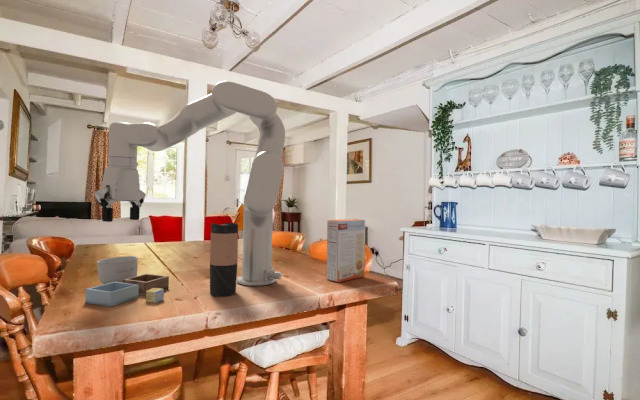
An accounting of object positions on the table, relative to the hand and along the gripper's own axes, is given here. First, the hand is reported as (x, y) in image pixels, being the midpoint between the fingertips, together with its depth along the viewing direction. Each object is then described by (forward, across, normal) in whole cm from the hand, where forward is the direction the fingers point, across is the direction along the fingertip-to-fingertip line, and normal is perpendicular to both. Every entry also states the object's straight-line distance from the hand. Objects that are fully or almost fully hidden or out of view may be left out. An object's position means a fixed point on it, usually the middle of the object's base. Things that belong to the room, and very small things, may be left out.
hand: (121, 220), depth 103 cm
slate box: (+20, +12, +10) cm, 25 cm away
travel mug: (+20, -4, +33) cm, 39 cm away
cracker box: (+20, -36, +62) cm, 75 cm away
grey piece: (+20, -2, -2) cm, 20 cm away
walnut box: (+20, +1, +11) cm, 23 cm away
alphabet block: (+20, +8, +20) cm, 30 cm away
